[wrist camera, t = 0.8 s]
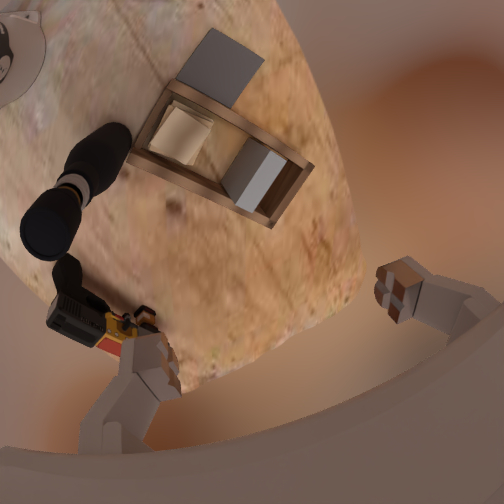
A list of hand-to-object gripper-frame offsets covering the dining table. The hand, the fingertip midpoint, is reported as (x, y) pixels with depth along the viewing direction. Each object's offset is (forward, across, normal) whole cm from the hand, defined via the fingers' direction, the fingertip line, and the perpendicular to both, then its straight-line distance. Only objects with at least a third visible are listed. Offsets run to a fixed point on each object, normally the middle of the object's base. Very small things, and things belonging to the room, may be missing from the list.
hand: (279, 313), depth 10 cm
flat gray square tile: (+38, -6, -13) cm, 40 cm away
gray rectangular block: (+40, -7, +4) cm, 40 cm away
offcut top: (+34, +2, -4) cm, 34 cm away
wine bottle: (+38, +13, -6) cm, 41 cm away
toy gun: (+40, +23, +23) cm, 52 cm away
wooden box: (+39, -3, +1) cm, 39 cm away
